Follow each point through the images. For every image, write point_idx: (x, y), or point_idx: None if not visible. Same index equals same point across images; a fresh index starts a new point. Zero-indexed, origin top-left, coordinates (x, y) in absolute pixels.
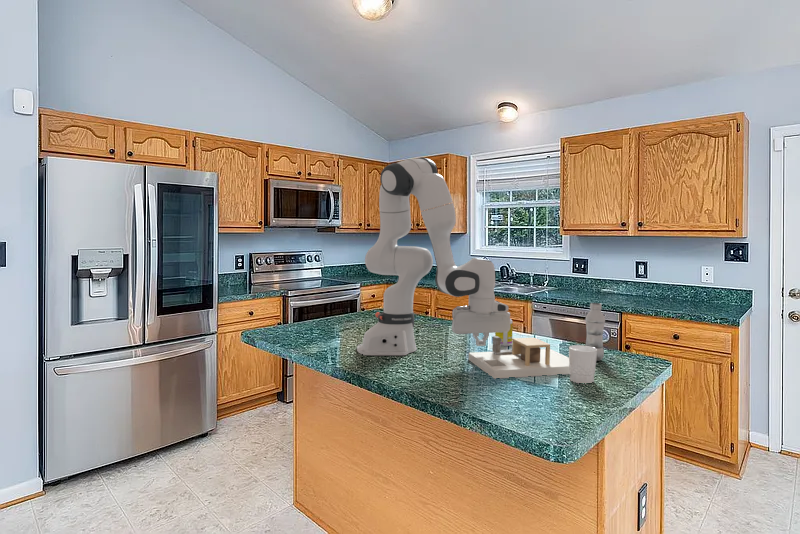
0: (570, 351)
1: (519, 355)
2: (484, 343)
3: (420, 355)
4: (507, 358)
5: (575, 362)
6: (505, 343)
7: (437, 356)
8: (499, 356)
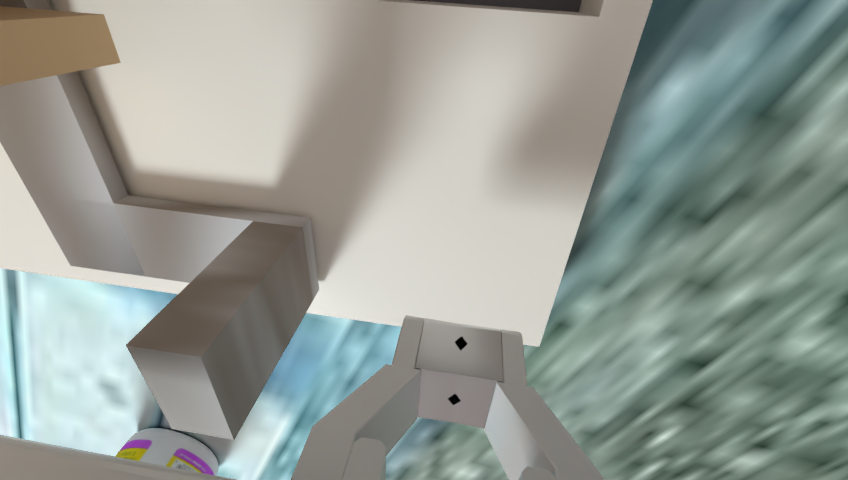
0: None
1: None
2: (418, 336)
3: (784, 468)
4: (222, 31)
5: None
6: (163, 443)
7: (692, 423)
8: (296, 145)
